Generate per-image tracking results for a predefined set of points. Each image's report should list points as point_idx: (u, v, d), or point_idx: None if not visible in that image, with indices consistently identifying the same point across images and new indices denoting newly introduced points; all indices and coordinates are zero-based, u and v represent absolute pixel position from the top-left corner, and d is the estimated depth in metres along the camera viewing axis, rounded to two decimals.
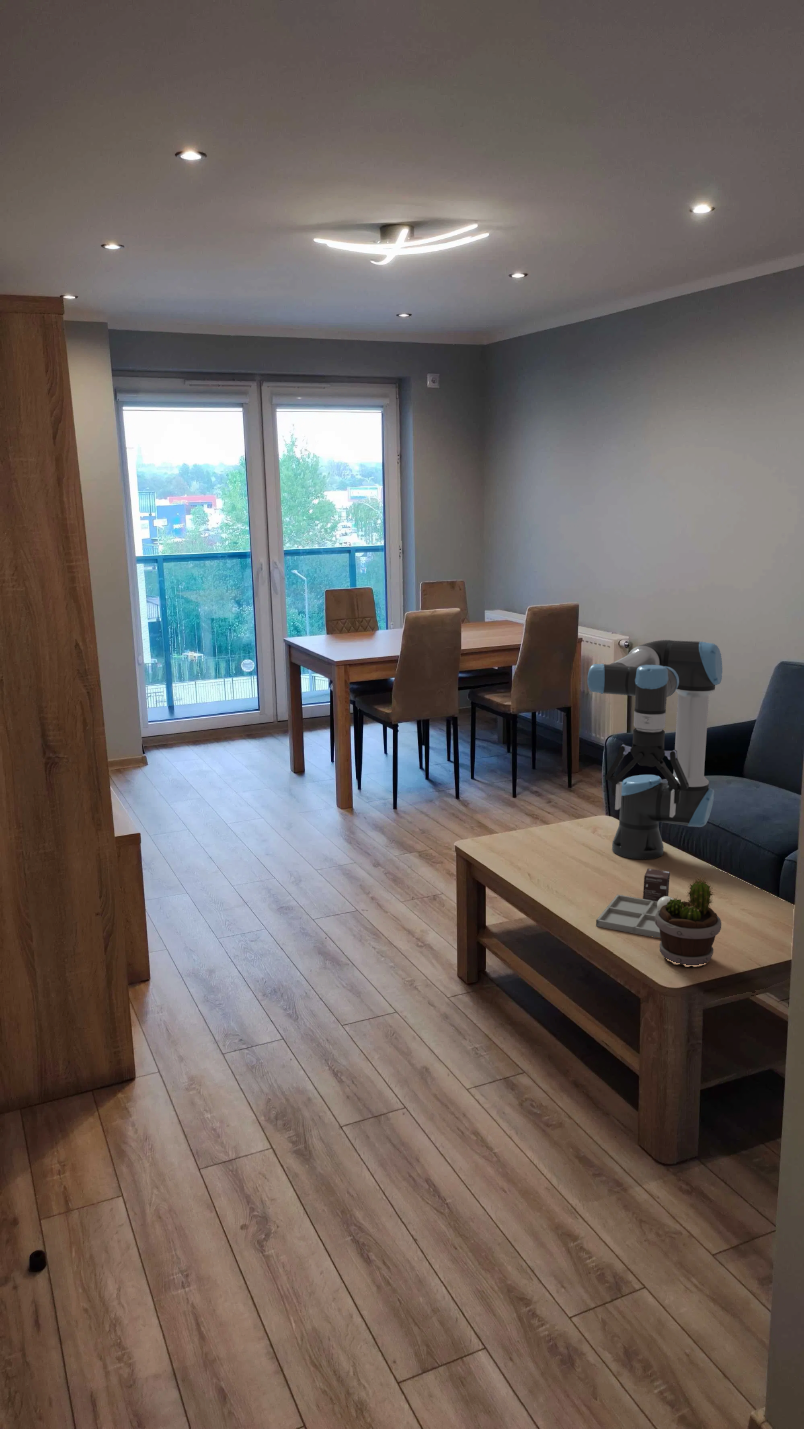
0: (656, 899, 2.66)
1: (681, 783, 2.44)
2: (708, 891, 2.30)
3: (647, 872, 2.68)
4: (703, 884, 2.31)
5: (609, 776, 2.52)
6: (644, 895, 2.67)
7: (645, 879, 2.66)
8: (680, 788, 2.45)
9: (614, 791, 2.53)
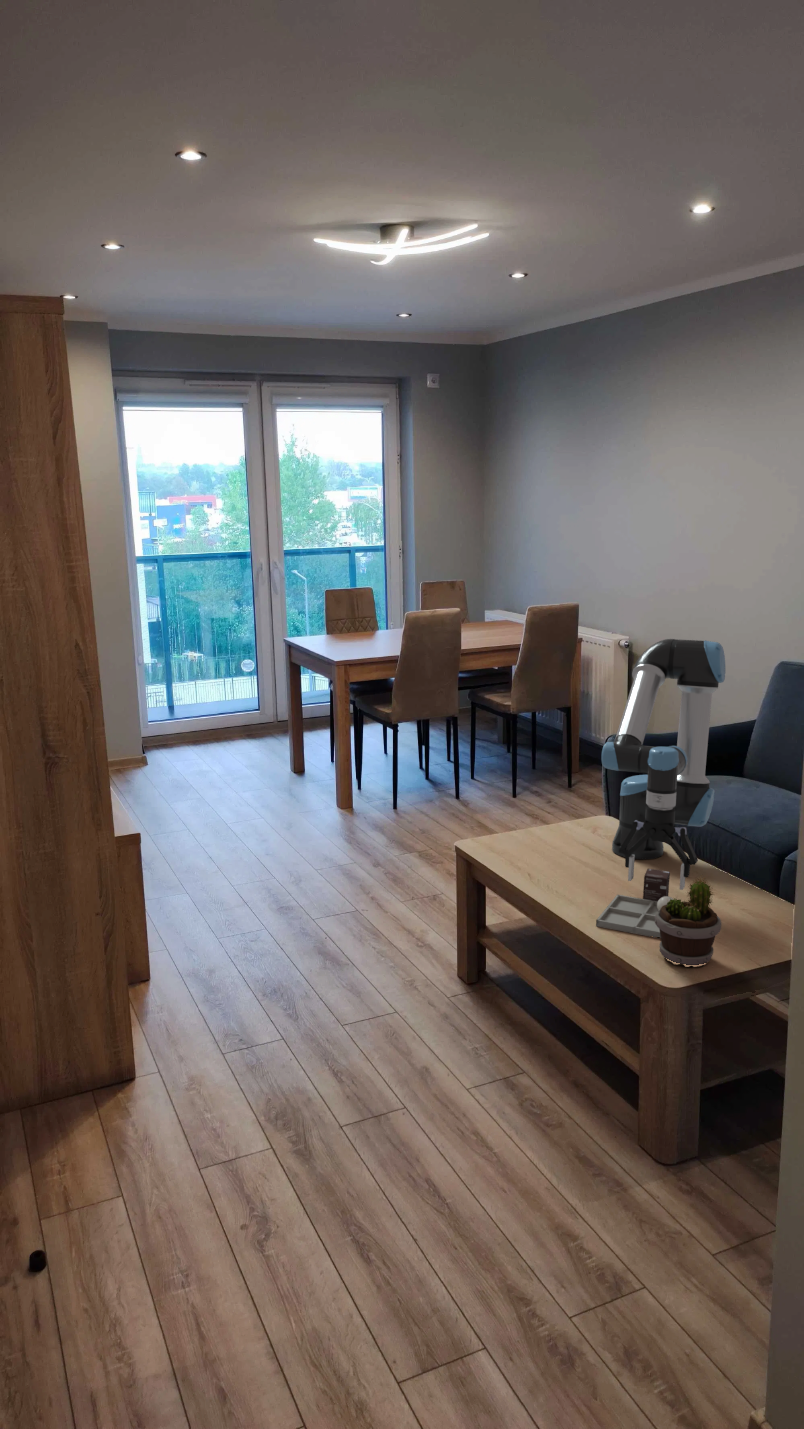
0: (656, 899, 2.66)
1: (690, 858, 2.61)
2: (708, 891, 2.30)
3: (647, 872, 2.68)
4: (703, 884, 2.31)
5: (623, 849, 2.69)
6: (644, 895, 2.67)
7: (645, 879, 2.66)
8: (689, 863, 2.62)
9: (627, 863, 2.70)
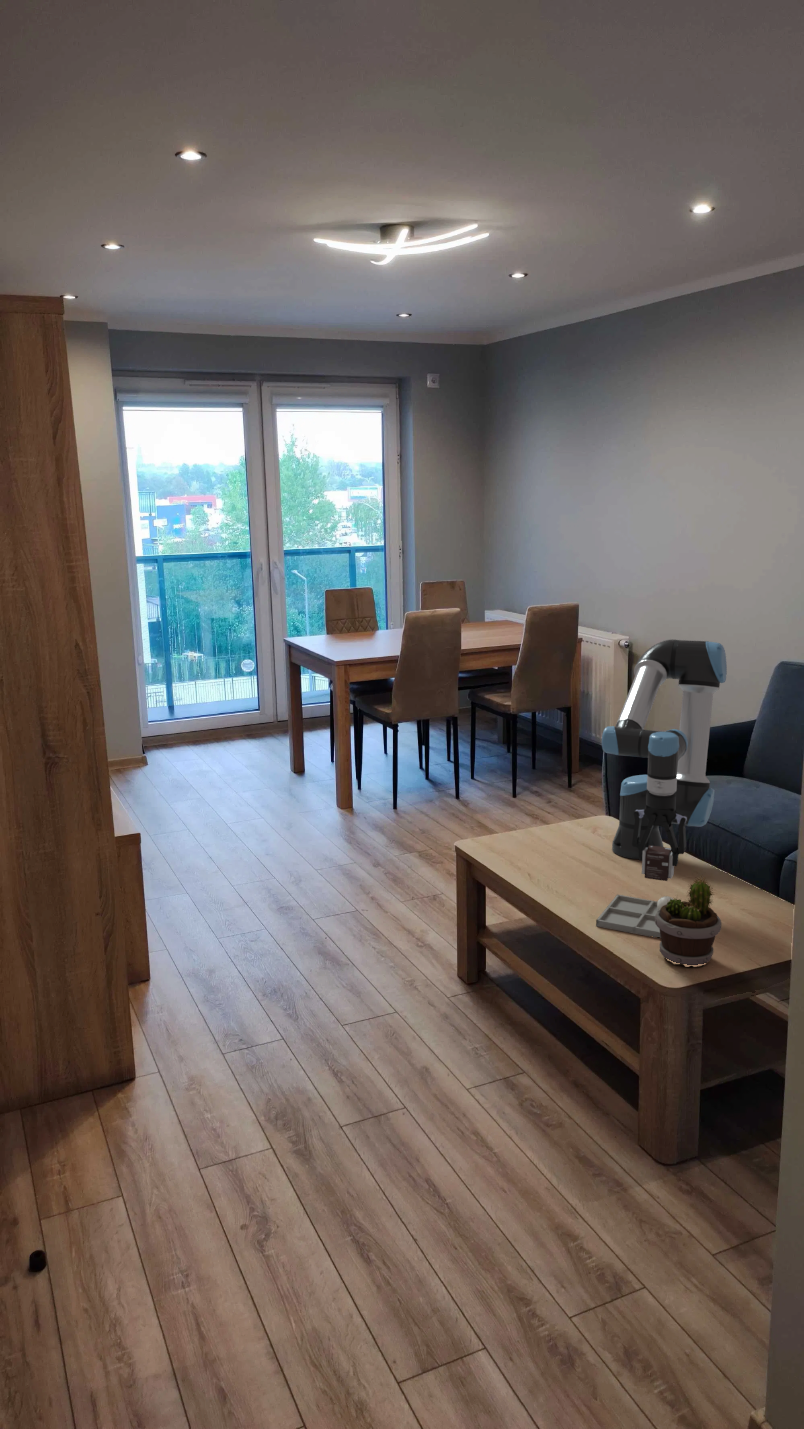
0: (658, 876, 2.65)
1: (680, 847, 2.62)
2: (708, 891, 2.30)
3: (649, 849, 2.67)
4: (703, 884, 2.31)
5: (635, 842, 2.68)
6: (646, 872, 2.66)
7: (647, 856, 2.65)
8: (678, 853, 2.63)
9: (641, 857, 2.68)
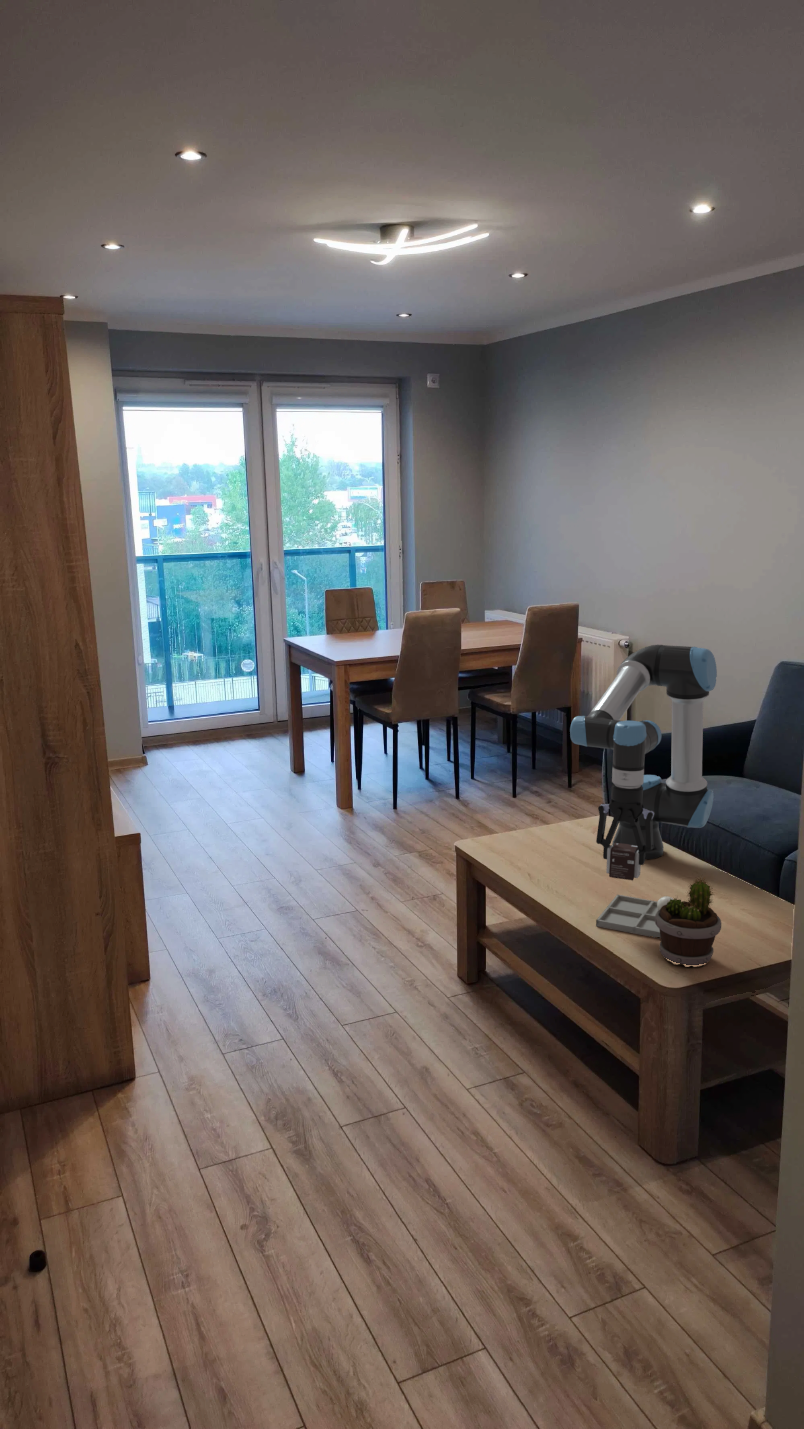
0: (623, 875, 2.48)
1: (647, 844, 2.45)
2: (708, 891, 2.30)
3: (614, 846, 2.50)
4: (703, 884, 2.30)
5: (599, 839, 2.51)
6: (610, 870, 2.49)
7: (611, 853, 2.48)
8: (644, 851, 2.47)
9: (605, 855, 2.51)
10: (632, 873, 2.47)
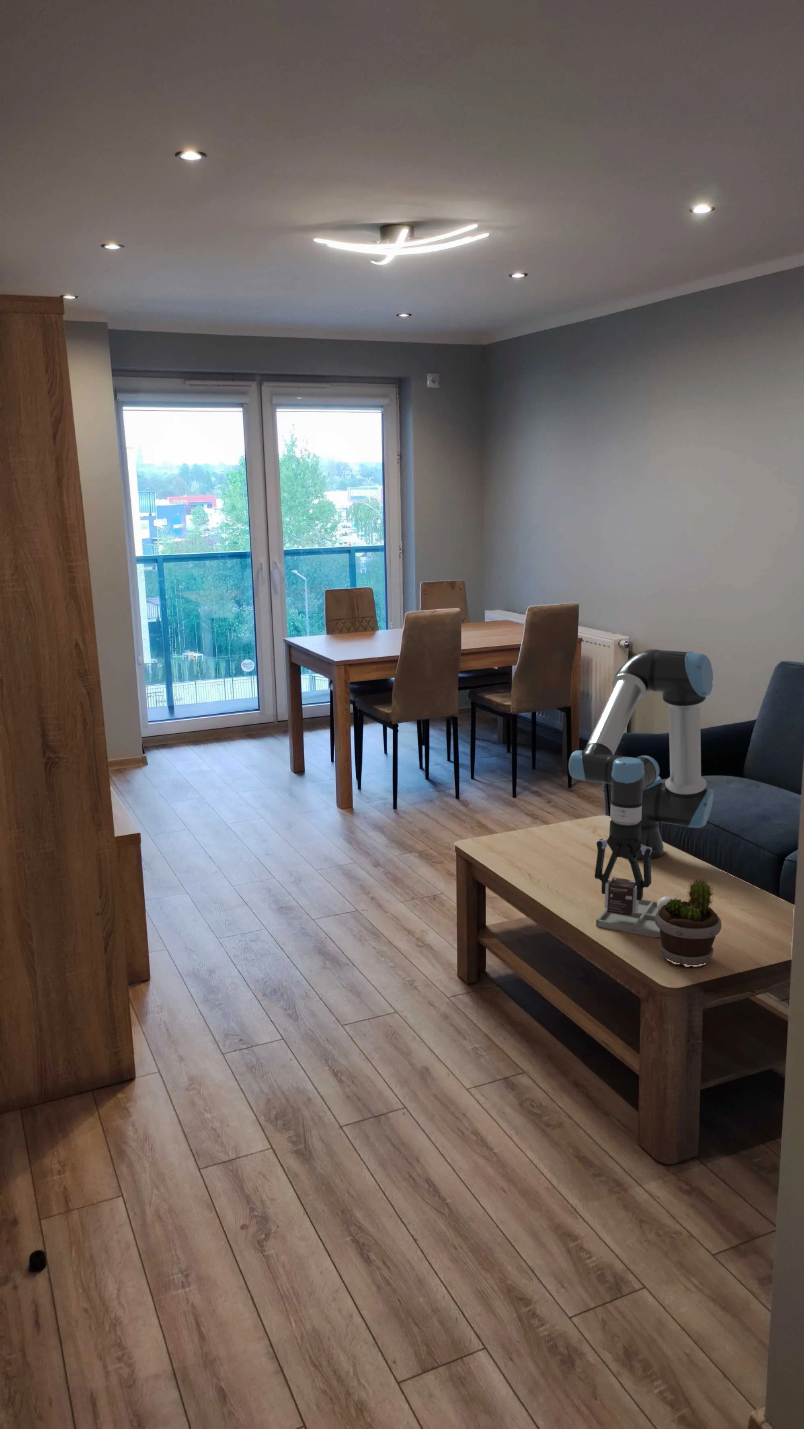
0: (621, 910, 2.50)
1: (645, 880, 2.47)
2: (708, 891, 2.30)
3: (612, 881, 2.52)
4: (703, 884, 2.31)
5: (598, 874, 2.53)
6: (608, 906, 2.51)
7: (609, 889, 2.50)
8: (642, 886, 2.48)
9: (604, 890, 2.53)
10: (630, 908, 2.49)
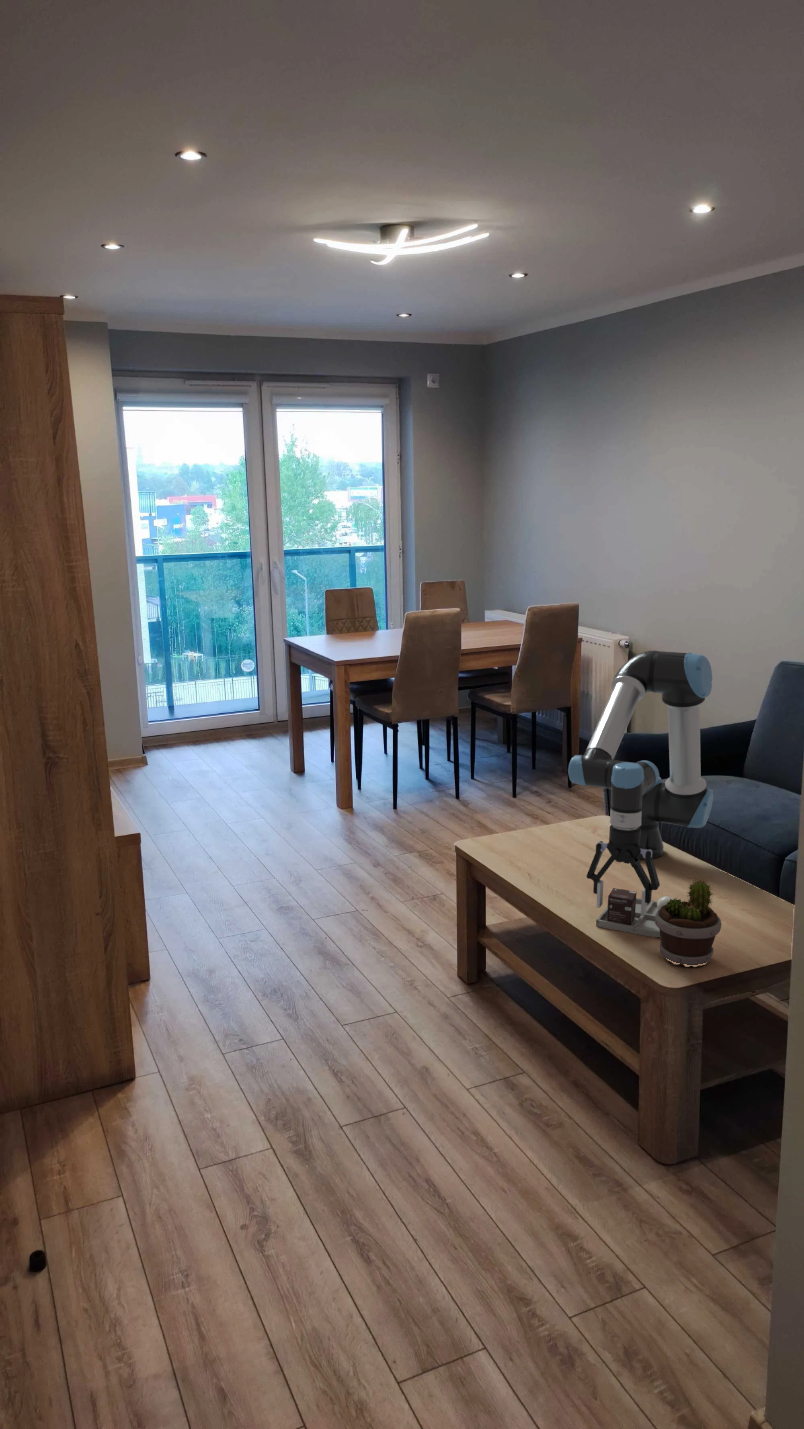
0: (621, 921, 2.50)
1: (652, 883, 2.47)
2: (708, 891, 2.30)
3: (612, 892, 2.53)
4: (703, 884, 2.31)
5: (590, 874, 2.54)
6: (608, 916, 2.51)
7: (609, 900, 2.51)
8: (651, 888, 2.48)
9: (595, 889, 2.54)
10: (629, 920, 2.49)
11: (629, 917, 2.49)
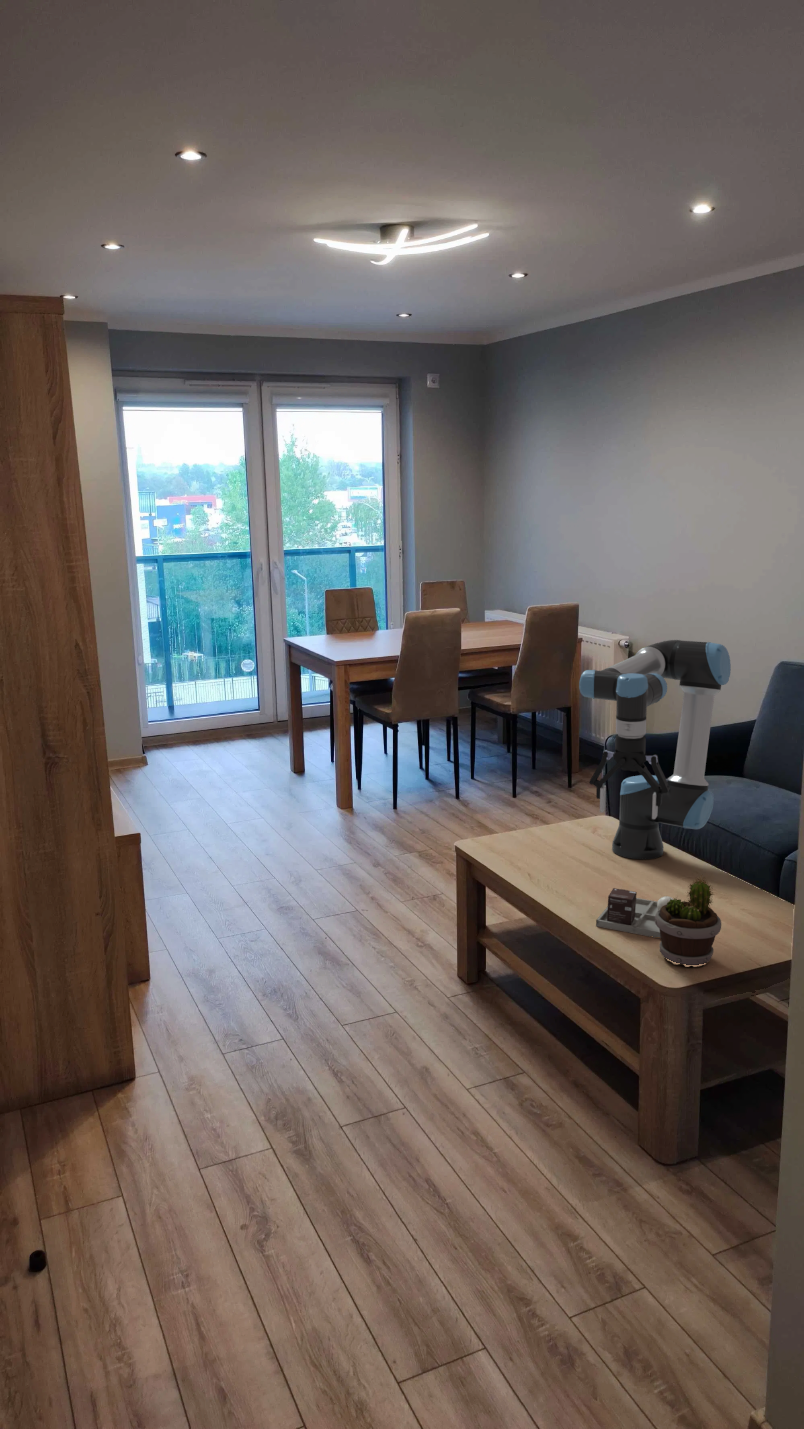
0: (621, 921, 2.50)
1: (662, 786, 2.54)
2: (708, 891, 2.30)
3: (612, 892, 2.53)
4: (703, 884, 2.31)
5: (593, 780, 2.62)
6: (608, 916, 2.51)
7: (609, 900, 2.51)
8: (661, 791, 2.55)
9: (598, 794, 2.63)
10: (629, 920, 2.49)
11: (629, 917, 2.49)
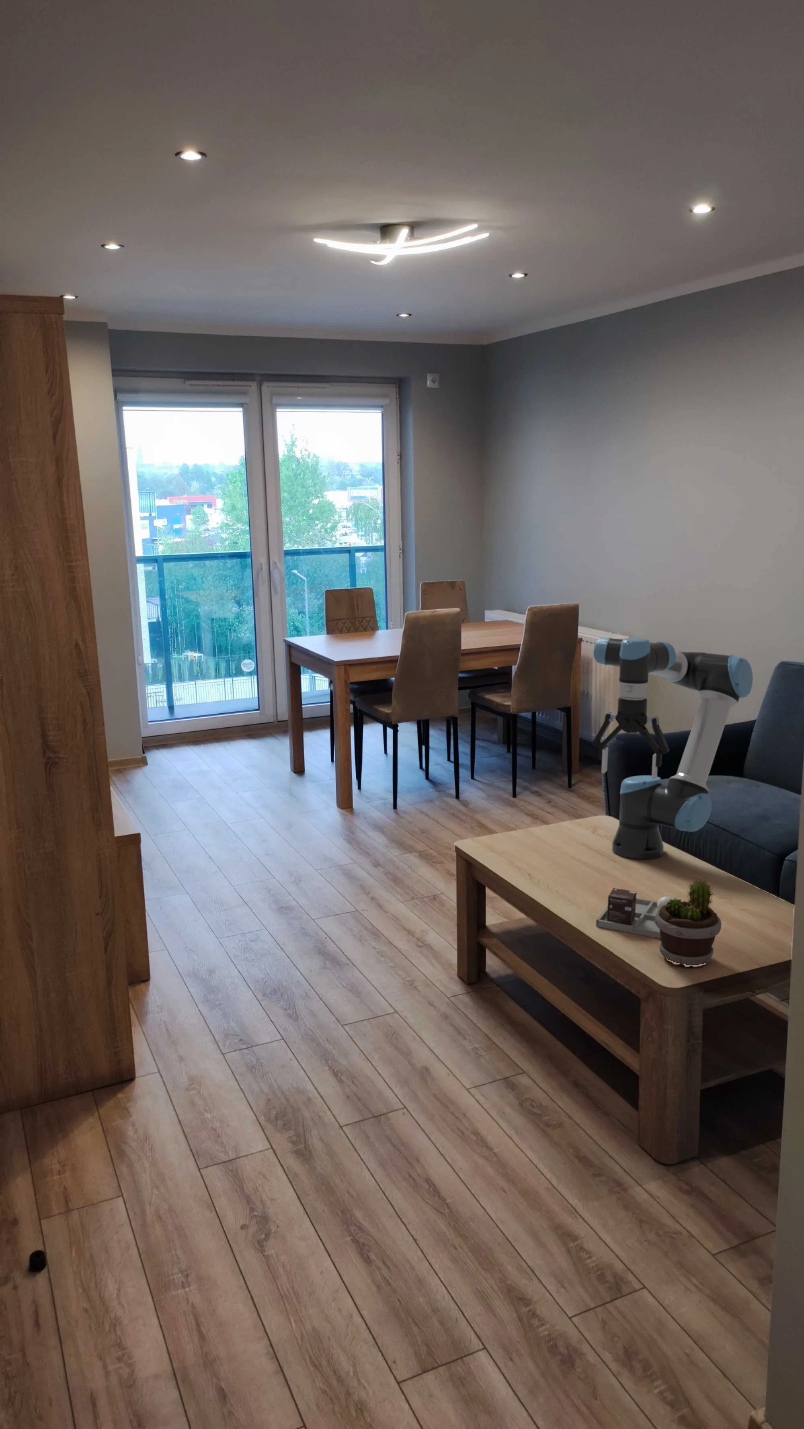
0: (621, 921, 2.50)
1: (662, 747, 2.64)
2: (708, 891, 2.30)
3: (612, 892, 2.53)
4: (703, 884, 2.31)
5: (596, 742, 2.72)
6: (608, 916, 2.51)
7: (609, 900, 2.51)
8: (661, 752, 2.65)
9: (600, 756, 2.73)
10: (629, 920, 2.49)
11: (629, 917, 2.49)
